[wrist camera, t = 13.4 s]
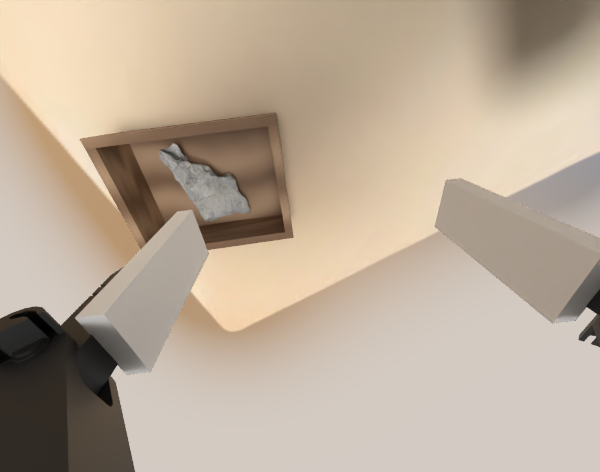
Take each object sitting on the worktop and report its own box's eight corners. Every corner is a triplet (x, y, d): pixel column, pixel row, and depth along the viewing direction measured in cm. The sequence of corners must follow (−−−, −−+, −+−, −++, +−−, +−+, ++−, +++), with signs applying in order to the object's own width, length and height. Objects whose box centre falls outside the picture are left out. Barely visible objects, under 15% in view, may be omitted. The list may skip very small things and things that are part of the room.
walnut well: (120, 132, 29) (79, 138, 23) (275, 112, 30) (275, 114, 23) (167, 233, 36) (146, 258, 30) (290, 216, 37) (293, 237, 31)
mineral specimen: (211, 129, 30) (202, 128, 26) (253, 209, 35) (251, 219, 31) (167, 149, 30) (152, 152, 26) (215, 225, 35) (208, 237, 31)
